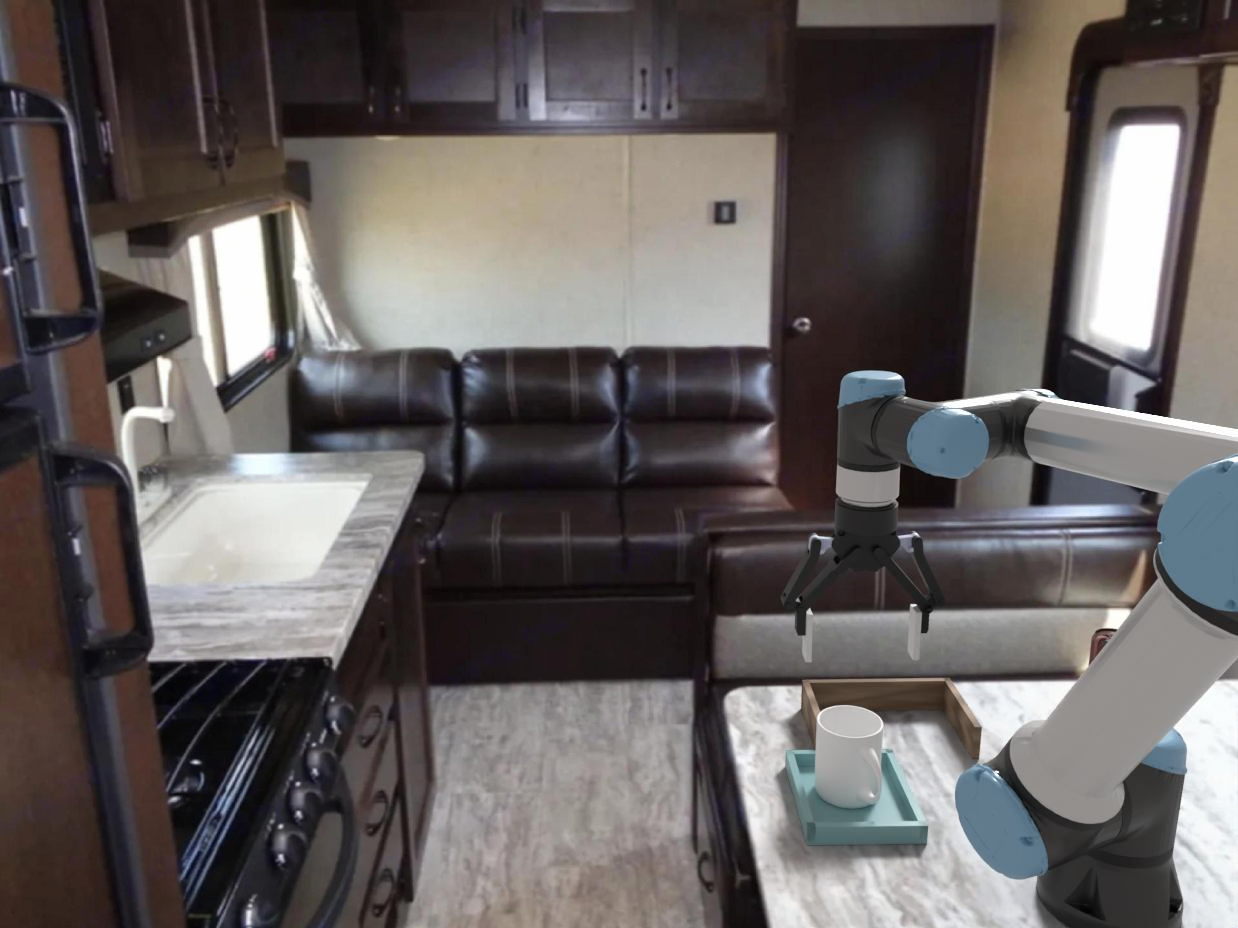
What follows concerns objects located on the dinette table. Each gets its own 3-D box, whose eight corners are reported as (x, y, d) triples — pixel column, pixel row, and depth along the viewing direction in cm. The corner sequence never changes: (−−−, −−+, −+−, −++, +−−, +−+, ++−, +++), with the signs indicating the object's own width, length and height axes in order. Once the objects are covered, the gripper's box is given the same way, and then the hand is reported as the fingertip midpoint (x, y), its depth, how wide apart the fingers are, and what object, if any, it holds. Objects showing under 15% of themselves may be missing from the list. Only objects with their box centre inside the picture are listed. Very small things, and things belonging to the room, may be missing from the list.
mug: (848, 831, 131) (852, 756, 128) (802, 781, 142) (804, 711, 139) (906, 817, 134) (911, 743, 131) (857, 769, 145) (860, 700, 142)
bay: (979, 758, 148) (981, 726, 147) (818, 760, 148) (819, 728, 147) (947, 706, 163) (949, 677, 161) (801, 708, 163) (802, 679, 162)
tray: (927, 843, 130) (928, 825, 129) (807, 845, 130) (807, 826, 129) (890, 764, 147) (891, 748, 146) (785, 766, 147) (785, 750, 146)
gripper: (959, 487, 130) (948, 642, 136) (761, 491, 131) (758, 645, 136) (979, 505, 123) (967, 668, 129) (769, 508, 123) (766, 671, 129)
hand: (859, 656), depth 132 cm, fingers open, 13 cm apart
